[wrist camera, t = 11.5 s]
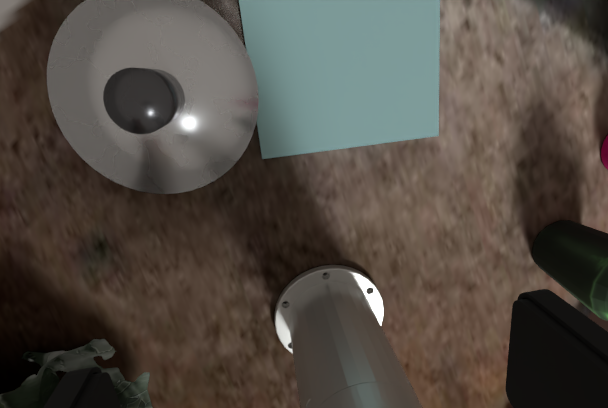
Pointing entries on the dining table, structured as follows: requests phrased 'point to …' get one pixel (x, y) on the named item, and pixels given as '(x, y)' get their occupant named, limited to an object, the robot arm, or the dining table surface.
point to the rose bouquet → (38, 388)
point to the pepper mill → (605, 152)
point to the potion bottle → (576, 262)
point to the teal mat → (343, 72)
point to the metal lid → (153, 92)
